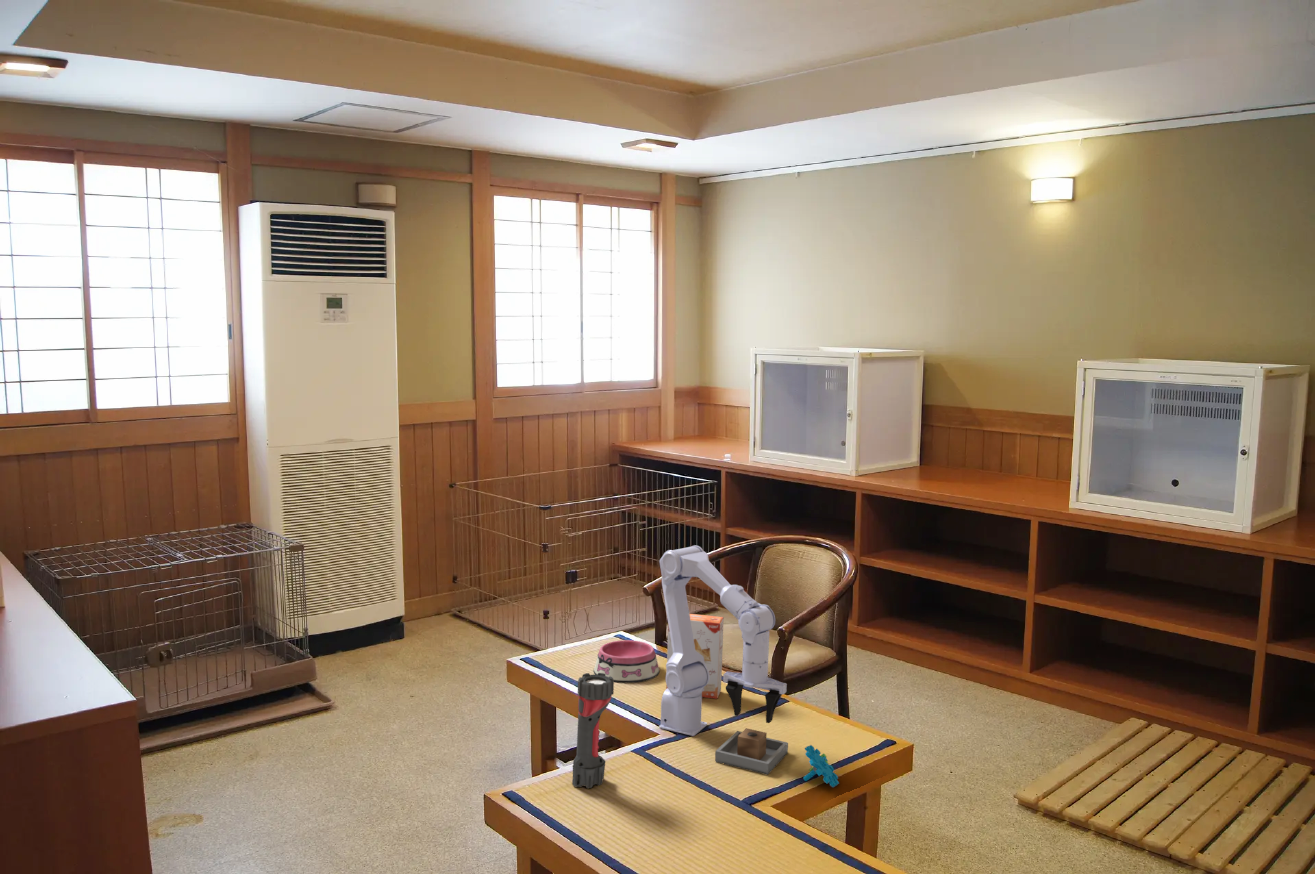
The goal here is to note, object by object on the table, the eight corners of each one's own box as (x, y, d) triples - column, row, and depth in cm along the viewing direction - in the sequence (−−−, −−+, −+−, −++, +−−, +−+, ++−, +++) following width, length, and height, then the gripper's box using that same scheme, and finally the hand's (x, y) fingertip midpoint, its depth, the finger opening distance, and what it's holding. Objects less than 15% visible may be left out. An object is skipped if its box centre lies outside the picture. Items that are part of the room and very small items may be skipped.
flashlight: (615, 775, 209) (617, 673, 206) (605, 792, 201) (607, 686, 198) (581, 770, 210) (582, 669, 208) (570, 787, 203) (571, 682, 200)
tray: (715, 761, 216) (715, 751, 216) (737, 740, 227) (737, 730, 227) (767, 774, 210) (768, 764, 210) (787, 752, 222) (788, 742, 221)
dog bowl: (580, 670, 272) (580, 646, 271) (629, 655, 285) (630, 633, 284) (622, 689, 259) (623, 664, 258) (672, 673, 271) (673, 649, 270)
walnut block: (737, 757, 218) (737, 736, 217) (745, 748, 222) (746, 727, 221) (757, 762, 215) (758, 740, 215) (765, 753, 220) (766, 732, 219)
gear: (838, 789, 201) (806, 750, 203) (816, 806, 202) (785, 767, 205) (844, 773, 212) (813, 736, 214) (823, 789, 213) (793, 752, 215)
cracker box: (665, 694, 255) (667, 617, 253) (670, 686, 261) (672, 610, 259) (717, 700, 252) (720, 622, 249) (721, 691, 258) (724, 615, 255)
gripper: (718, 659, 216) (716, 717, 218) (779, 671, 209) (777, 731, 211) (731, 650, 222) (729, 706, 224) (790, 661, 216) (788, 719, 217)
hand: (753, 717), depth 218 cm, fingers open, 7 cm apart
